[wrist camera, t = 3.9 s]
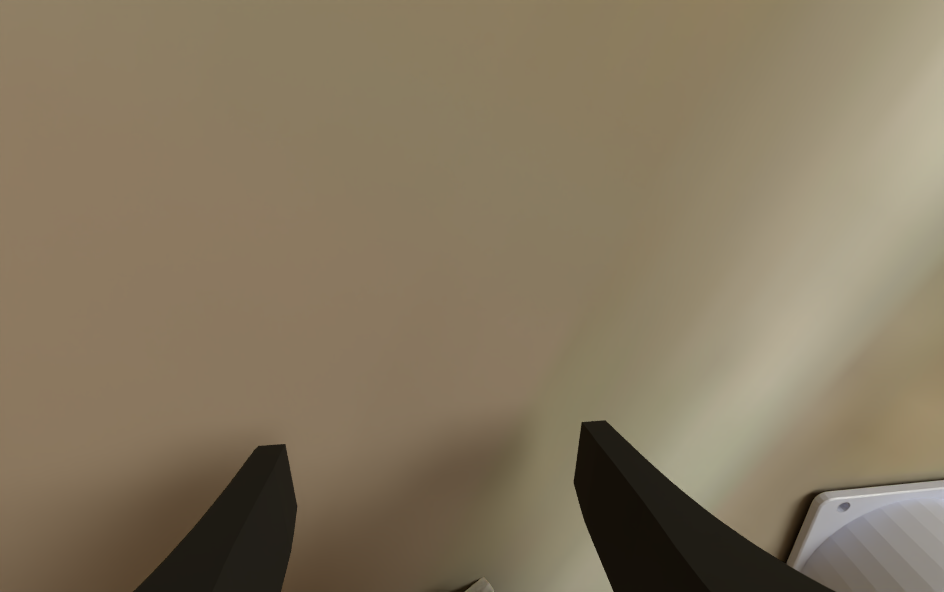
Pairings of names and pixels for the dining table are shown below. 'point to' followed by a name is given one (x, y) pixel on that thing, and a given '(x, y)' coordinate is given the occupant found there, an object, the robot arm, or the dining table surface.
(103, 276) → the dining table surface
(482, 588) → the origami crane
